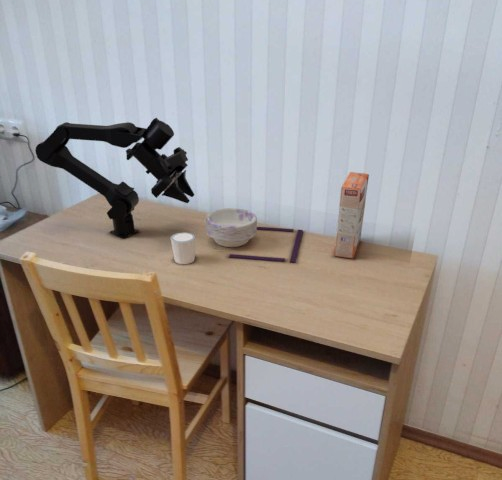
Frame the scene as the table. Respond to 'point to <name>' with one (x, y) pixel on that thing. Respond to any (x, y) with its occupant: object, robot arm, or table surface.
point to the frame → (292, 260)
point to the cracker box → (351, 214)
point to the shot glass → (183, 247)
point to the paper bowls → (231, 226)
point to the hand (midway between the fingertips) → (191, 199)
